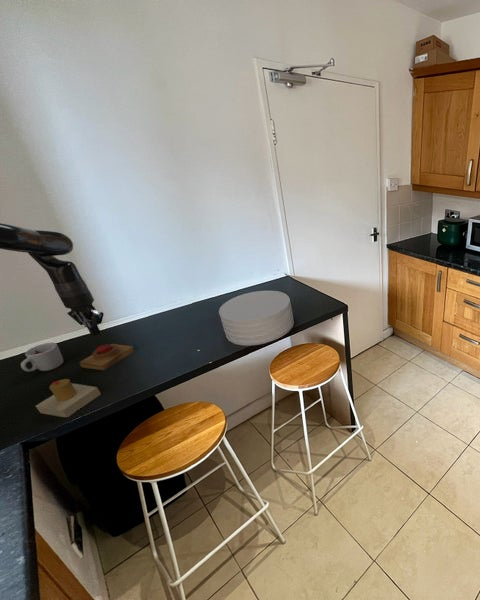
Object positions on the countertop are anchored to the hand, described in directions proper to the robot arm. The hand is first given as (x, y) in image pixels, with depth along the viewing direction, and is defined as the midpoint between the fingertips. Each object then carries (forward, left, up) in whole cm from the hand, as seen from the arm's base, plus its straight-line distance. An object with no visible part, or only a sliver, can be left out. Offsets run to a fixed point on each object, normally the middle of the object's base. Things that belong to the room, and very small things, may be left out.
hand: (96, 334), depth 114 cm
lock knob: (-21, -11, -8) cm, 25 cm away
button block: (0, 0, -11) cm, 11 cm away
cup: (-9, +16, -11) cm, 22 cm away
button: (0, 0, -7) cm, 7 cm away
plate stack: (+31, -44, -11) cm, 55 cm away
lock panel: (-21, -11, -11) cm, 26 cm away
